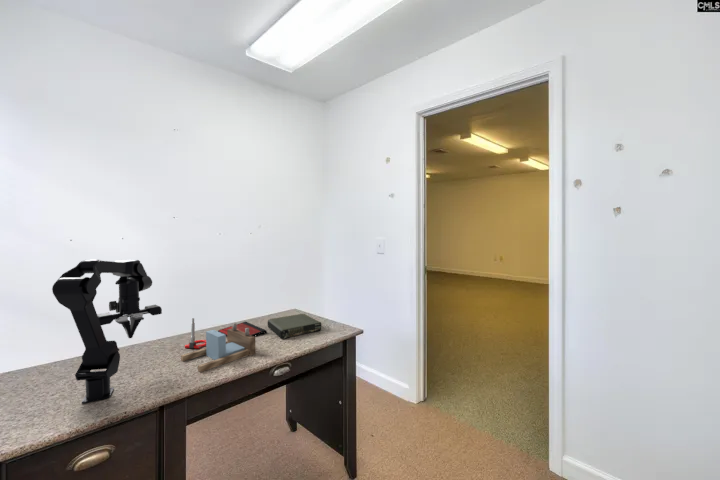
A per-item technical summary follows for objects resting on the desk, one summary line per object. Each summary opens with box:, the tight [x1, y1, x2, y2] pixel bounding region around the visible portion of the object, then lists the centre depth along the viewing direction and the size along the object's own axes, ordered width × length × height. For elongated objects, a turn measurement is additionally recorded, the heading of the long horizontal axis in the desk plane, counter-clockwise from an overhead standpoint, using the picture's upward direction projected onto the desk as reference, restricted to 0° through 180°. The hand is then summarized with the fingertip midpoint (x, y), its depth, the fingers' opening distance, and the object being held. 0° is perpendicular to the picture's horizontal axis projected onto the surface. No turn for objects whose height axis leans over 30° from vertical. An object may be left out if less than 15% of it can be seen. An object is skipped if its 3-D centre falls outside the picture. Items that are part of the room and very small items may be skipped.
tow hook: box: [184, 317, 206, 350], centre depth 135 cm, size 8×13×9 cm
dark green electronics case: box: [267, 313, 322, 340], centre depth 156 cm, size 23×23×5 cm
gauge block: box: [205, 329, 245, 361], centre depth 125 cm, size 11×10×10 cm
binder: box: [217, 321, 268, 338], centre depth 152 cm, size 16×2×21 cm
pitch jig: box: [180, 322, 256, 373], centre depth 123 cm, size 22×18×10 cm
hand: (130, 338), depth 110 cm, fingers closed
